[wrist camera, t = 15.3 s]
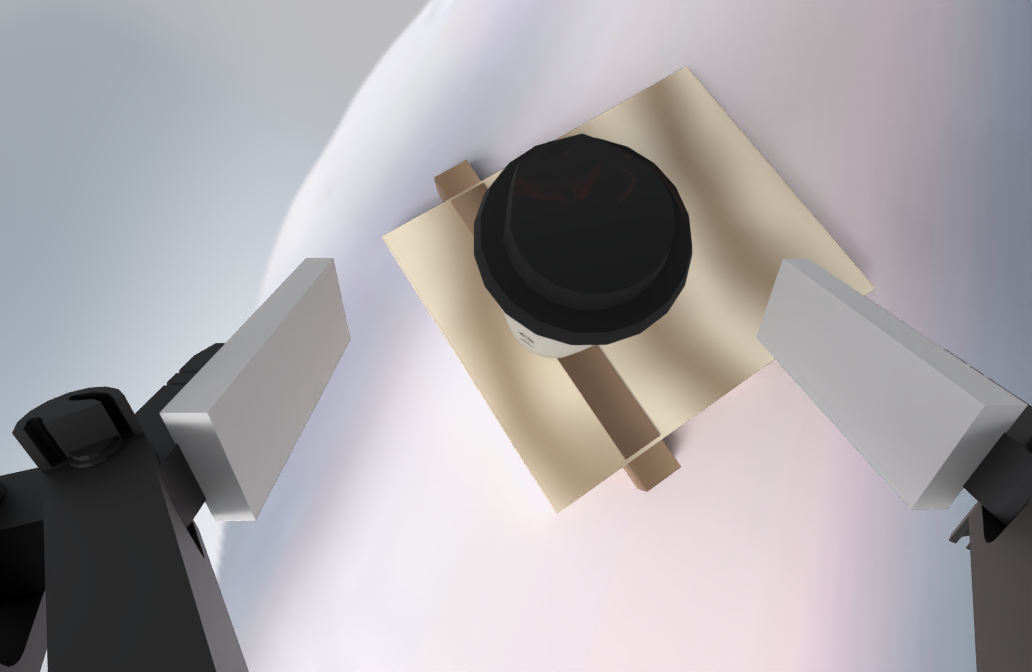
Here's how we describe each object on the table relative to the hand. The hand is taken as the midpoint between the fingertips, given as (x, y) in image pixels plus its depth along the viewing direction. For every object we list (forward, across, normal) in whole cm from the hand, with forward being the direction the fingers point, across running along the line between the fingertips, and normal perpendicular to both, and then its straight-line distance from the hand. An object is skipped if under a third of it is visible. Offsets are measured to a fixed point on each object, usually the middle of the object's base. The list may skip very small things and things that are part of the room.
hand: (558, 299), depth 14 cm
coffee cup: (+8, +1, -5) cm, 9 cm away
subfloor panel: (+11, +5, -4) cm, 12 cm away
